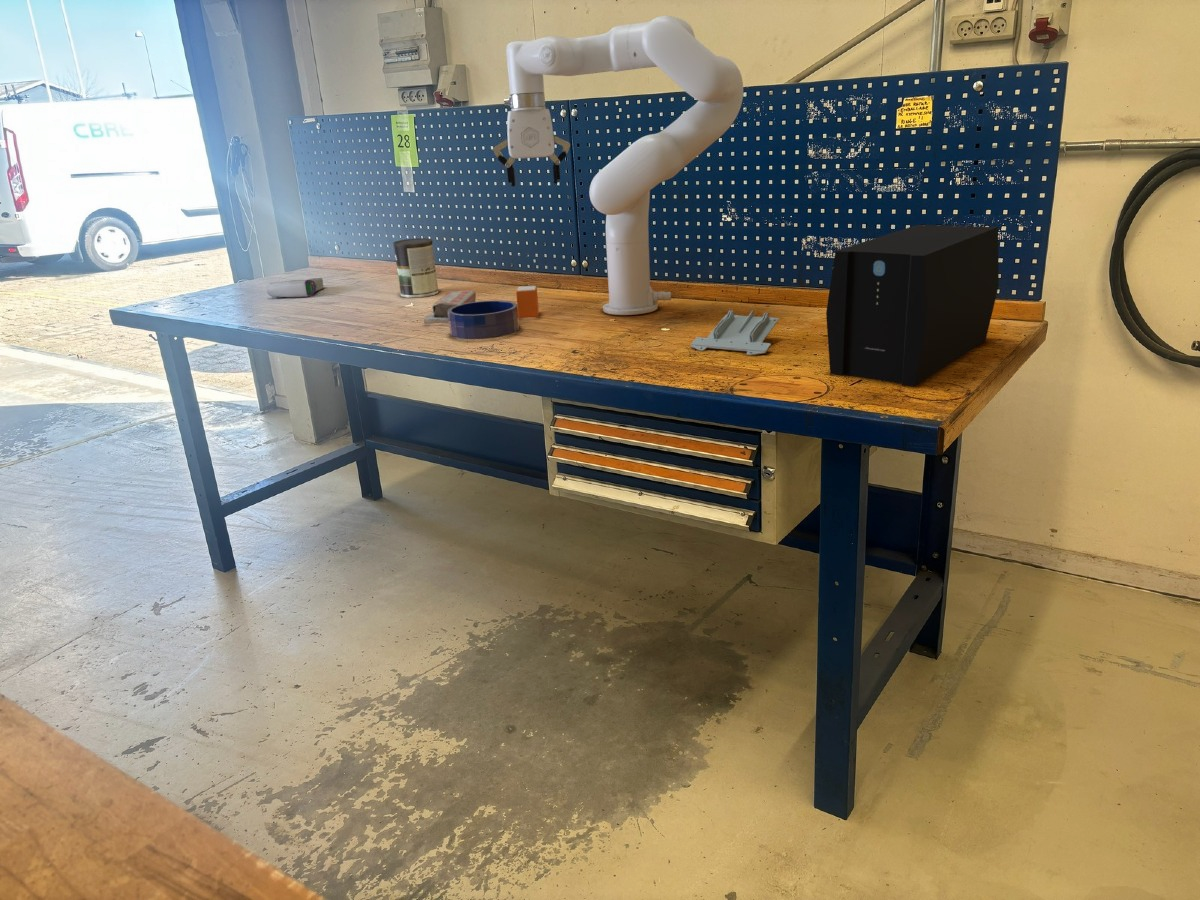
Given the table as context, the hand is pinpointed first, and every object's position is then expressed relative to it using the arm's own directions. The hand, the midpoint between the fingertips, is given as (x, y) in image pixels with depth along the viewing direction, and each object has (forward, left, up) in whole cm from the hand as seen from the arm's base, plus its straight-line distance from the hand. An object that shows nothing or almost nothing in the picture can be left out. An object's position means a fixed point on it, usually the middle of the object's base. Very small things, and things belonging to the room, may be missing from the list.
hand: (534, 184), depth 193 cm
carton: (+3, +9, -28) cm, 30 cm away
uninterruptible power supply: (-66, +59, -28) cm, 93 cm away
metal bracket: (-39, +44, -28) cm, 65 cm away
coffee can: (+35, -29, -28) cm, 54 cm away
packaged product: (+21, +3, -28) cm, 36 cm away
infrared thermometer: (+72, -42, -28) cm, 88 cm away
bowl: (+12, +22, -28) cm, 38 cm away
